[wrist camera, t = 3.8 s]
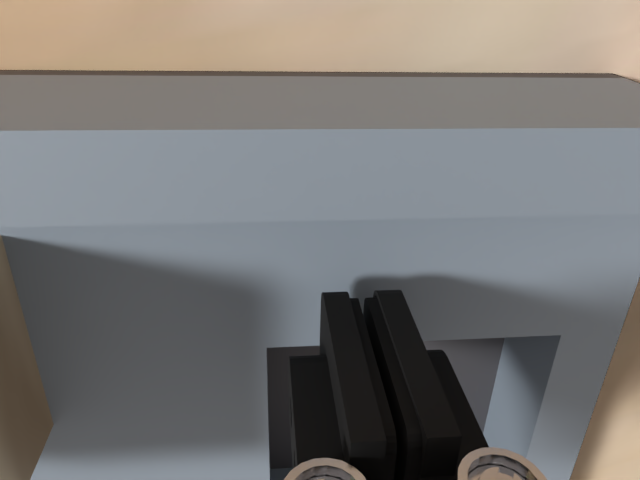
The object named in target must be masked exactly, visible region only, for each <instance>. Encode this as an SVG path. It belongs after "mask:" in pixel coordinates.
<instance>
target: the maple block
mask: <svg viewBox="0 0 640 480" xmlns="http://www.w3.org/2000/svg"><path fill="white" fill-rule="evenodd" d="M53 425H54V424H53V420H52V417H51V413H50V409H49V406H48V402H47V399H46V395H45V391H44V388H43V384H42V381H41V377H40V373H39V370H38V366H37V362H36V359H35V355H34V352H33V348H32V344H31V341H30V337H29V334H28V330H27V326H26V323H25V319H24V315H23V312H22V308H21V305H20V301H19V297H18V294H17V290H16V286H15V283H14V279H13V276H12V272H11V268H10V265H9V261H8V258H7V254H6V250H5V247H4V243H3V239H2V236H1V235H0V480H30V479H31V476H32V474H33V472H34V469H35V467H36V465H37V462H38V460H39V458H40V455H41V453H42V451H43V448H44V446H45V444H46V441H47V439H48V437H49V434H50V432H51V430H52V427H53Z"/></svg>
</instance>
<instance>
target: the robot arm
mask: <svg viewBox="0 0 640 480" xmlns="http://www.w3.org/2000/svg"><path fill="white" fill-rule="evenodd" d="M288 386H289V418H290V435H291V450H292V465H293V469H292V470H291V471H290V472H289V473H288V475H287V476H286V477H285V479H284V480H547V479H546V477H545V476H544V474H543V473H542V472H541V471H540V470H539V469H538V468H537V467H536V466H535V465H534V464H533V463H532V462H530V461H529V460H527V459H526V458H524V457H523V456H522V455H519V454H517V453H515V452H512V451H510V450H507V449H502V448H496V447H489V446H488V444H487V441H486V439H485V437H484V435H483V433H482V431H481V428H480V426H479V424H478V422H477V420H476V418H475V415H474V413H473V411H472V409H471V407H470V404H469V402H468V400H467V398H466V396H465V394H464V391H463V389H462V387H461V385H460V383H459V381H458V378H457V376H456V374H455V372H454V370H453V368H452V365H451V363H450V361H449V359H448V357H447V355H446V353H445V352H444V351H443V350H441V349H440V350H426V348H425V345H424V343H423V340H422V338H421V336H420V333H419V331H418V328H417V326H416V323H415V321H414V319H413V316H412V314H411V311H410V309H409V307H408V304H407V302H406V299H405V297H404V295H403V292H402V291H401V290H375V291H374V294H373V297H369V298H365V300H364V309H363V313H362V309H361V306H360V302H359V299H358V298H350V297H349V293H348V292H347V291H346V292H322V294H321V314H320V348H319V355H308V356H289V360H288Z"/></svg>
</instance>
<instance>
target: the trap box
mask: <svg viewBox="0 0 640 480" xmlns="http://www.w3.org/2000/svg"><path fill="white" fill-rule="evenodd" d="M0 235H1V236H2V239H3V243H4V247H5V250H6V254H7V258H8V261H9V265H10V268H11V272H12V276H13V279H14V283H15V286H16V290H17V294H18V297H19V301H20V305H21V308H22V312H23V315H24V319H25V323H26V326H27V330H28V334H29V337H30V341H31V344H32V348H33V352H34V355H35V359H36V362H37V366H38V370H39V373H40V377H41V381H42V384H43V388H44V391H45V395H46V399H47V402H48V406H49V409H50V413H51V417H52V420H53V424H54V425H53V427H52V430H51V432H50V434H49V437H48V439H47V441H46V444H45V446H44V448H43V451H42V453H41V455H40V458H39V460H38V462H37V465H36V467H35V469H34V472H33V474H32V476H31V479H30V480H284V479H285V477H286V476H287V475H288V473H289V472H290V471H291V470H292V469H293V465H292V450H291V435H290V418H289V386H288V360H289V356H308V355H319V348H320V314H321V294H322V292H346V291H347V292H348V293H349V297H350V298H358V299H359V302H360V306H361V309H362V313H363V309H364V300H365V298H369V297H373V294H374V291H375V290H401V291H402V292H403V295H404V297H405V299H406V302H407V304H408V307H409V309H410V311H411V314H412V316H413V319H414V321H415V323H416V326H417V328H418V331H419V333H420V336H421V338H422V340H423V343H424V345H425V348H426V350H440V349H441V350H443V351H444V352H445V353H446V355H447V357H448V359H449V361H450V363H451V365H452V368H453V370H454V372H455V374H456V376H457V378H458V381H459V383H460V385H461V387H462V389H463V391H464V394H465V396H466V398H467V400H468V402H469V404H470V407H471V409H472V411H473V413H474V415H475V418H476V420H477V422H478V424H479V426H480V428H481V431H482V433H483V435H484V437H485V439H486V441H487V444H488V446H489V447H496V448H502V449H507V450H510V451H512V452H515V453H517V454H519V455H522V456H523V457H524V458H526V459H527V460H529V461H530V462H532V463H533V464H534V465H535V466H536V467H537V468H538V469H539V470H540V471H541V472H542V473H543V474H544V476H545V477H546V479H547V480H569V479H570V477H571V474H572V471H573V468H574V465H575V462H576V459H577V456H578V453H579V451H580V448H581V445H582V442H583V439H584V436H585V433H586V430H587V428H588V425H589V422H590V419H591V416H592V413H593V410H594V407H595V404H596V402H597V399H598V396H599V393H600V390H601V387H602V384H603V381H604V379H605V376H606V373H607V370H608V367H609V364H610V361H611V358H612V355H613V353H614V350H615V347H616V344H617V341H618V338H619V335H620V332H621V330H622V327H623V324H624V321H625V318H626V315H627V312H628V309H629V306H630V304H631V301H632V298H633V295H634V292H635V289H636V286H637V283H638V281H639V278H640V83H637V82H634V81H632V80H629V79H626V78H623V77H621V76H618V75H615V74H591V73H417V72H242V71H68V70H0Z"/></svg>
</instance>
